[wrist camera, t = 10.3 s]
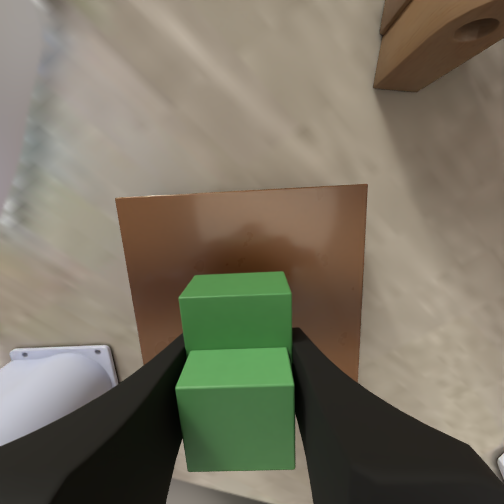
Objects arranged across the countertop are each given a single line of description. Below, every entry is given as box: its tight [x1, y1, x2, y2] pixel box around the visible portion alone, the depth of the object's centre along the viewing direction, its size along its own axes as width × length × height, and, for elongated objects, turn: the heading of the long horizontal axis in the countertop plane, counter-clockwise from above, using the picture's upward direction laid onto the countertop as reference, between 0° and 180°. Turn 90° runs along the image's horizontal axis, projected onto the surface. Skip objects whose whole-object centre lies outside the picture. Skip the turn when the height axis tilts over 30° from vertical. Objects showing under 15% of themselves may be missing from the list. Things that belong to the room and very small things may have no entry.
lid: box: [115, 184, 368, 383], centre depth 15 cm, size 13×15×1 cm
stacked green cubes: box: [175, 271, 295, 472], centre depth 10 cm, size 7×4×5 cm, turn 3°
